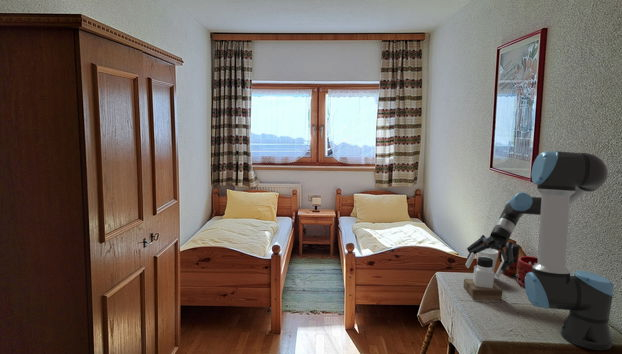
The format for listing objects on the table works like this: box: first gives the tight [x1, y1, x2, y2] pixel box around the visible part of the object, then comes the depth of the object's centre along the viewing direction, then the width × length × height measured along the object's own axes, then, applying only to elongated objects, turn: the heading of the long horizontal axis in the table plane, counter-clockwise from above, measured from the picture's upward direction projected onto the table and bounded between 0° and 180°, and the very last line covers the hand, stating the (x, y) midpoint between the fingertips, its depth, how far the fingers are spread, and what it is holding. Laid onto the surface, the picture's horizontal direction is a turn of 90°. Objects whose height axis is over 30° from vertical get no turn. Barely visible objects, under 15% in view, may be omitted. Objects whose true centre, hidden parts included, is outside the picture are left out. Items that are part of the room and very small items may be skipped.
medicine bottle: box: [472, 256, 496, 288], centre depth 190 cm, size 7×7×12 cm
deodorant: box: [502, 242, 520, 278], centre depth 215 cm, size 6×6×15 cm
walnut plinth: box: [463, 278, 503, 301], centre depth 191 cm, size 12×12×4 cm
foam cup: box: [476, 248, 500, 272], centre depth 211 cm, size 10×9×13 cm
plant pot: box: [516, 255, 538, 288], centre depth 202 cm, size 13×13×12 cm
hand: (481, 271), depth 188 cm, fingers open, 13 cm apart
